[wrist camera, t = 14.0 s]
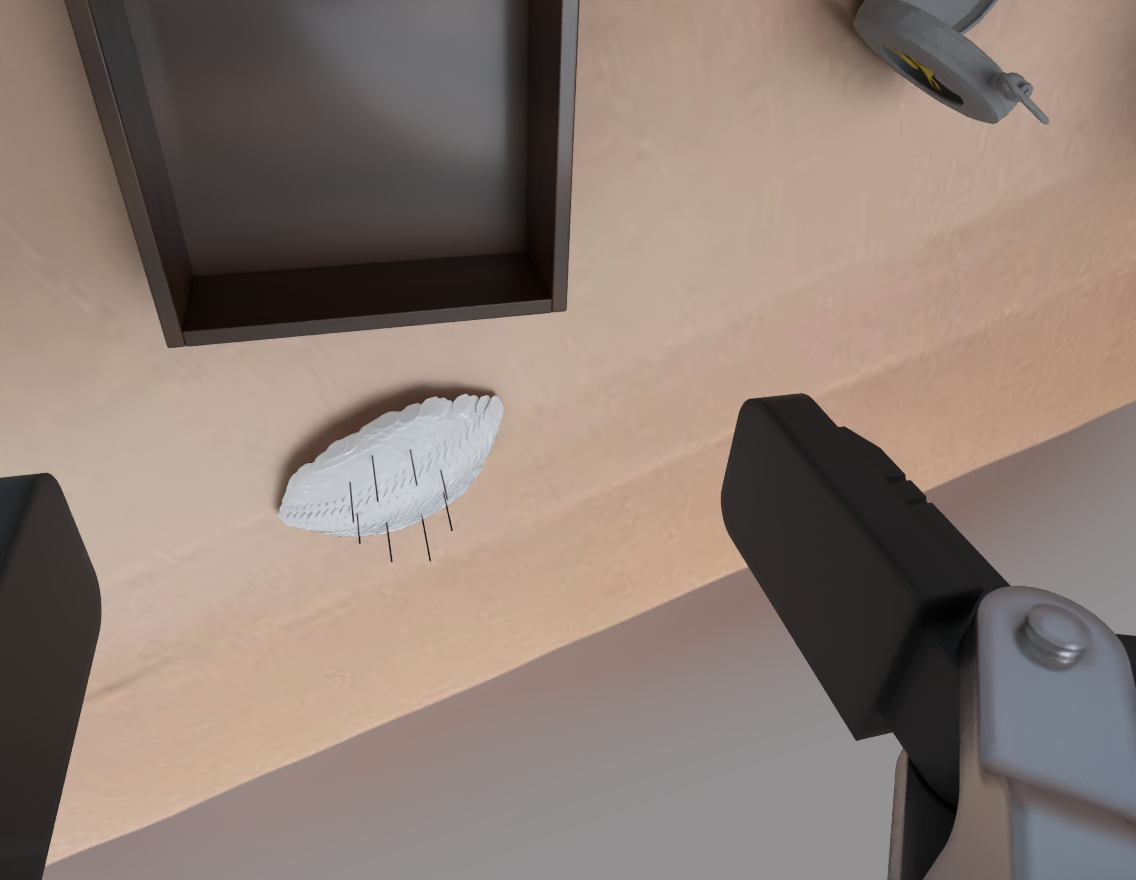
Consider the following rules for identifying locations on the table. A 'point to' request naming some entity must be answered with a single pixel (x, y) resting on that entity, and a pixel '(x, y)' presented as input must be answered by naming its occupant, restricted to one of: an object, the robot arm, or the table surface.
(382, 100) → the box
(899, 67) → the pocket watch
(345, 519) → the pincushion
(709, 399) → the table surface
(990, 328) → the table surface
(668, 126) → the table surface
